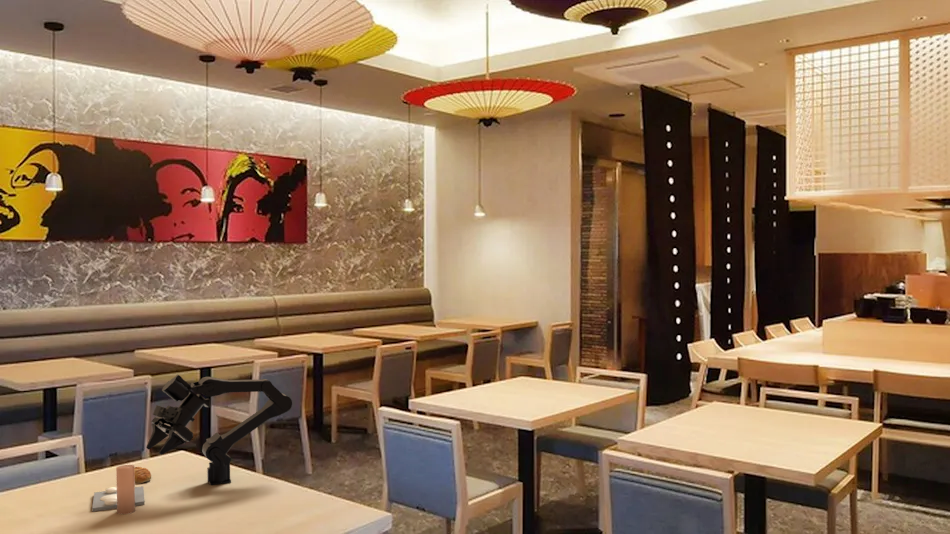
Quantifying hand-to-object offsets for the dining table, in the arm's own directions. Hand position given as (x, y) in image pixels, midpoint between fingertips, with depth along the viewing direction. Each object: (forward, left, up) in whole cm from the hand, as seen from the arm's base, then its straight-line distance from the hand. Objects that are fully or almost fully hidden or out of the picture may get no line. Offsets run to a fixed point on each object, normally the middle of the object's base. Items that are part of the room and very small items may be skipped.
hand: (153, 451), depth 237 cm
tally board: (+10, 0, -14) cm, 17 cm away
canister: (+8, +12, -14) cm, 20 cm away
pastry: (+4, -20, -14) cm, 25 cm away
